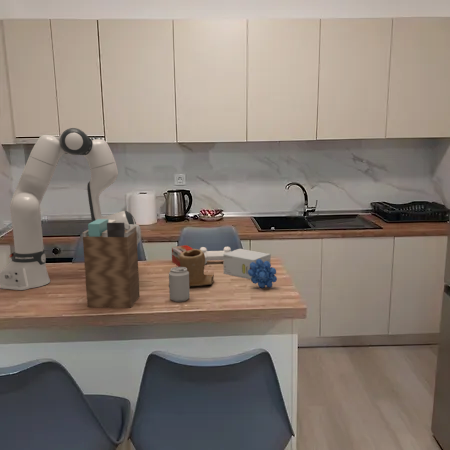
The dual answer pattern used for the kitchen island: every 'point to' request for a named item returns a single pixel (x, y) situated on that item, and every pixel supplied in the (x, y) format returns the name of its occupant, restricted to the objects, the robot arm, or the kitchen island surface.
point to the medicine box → (178, 253)
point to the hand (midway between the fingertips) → (109, 224)
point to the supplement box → (242, 262)
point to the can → (179, 284)
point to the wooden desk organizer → (112, 267)
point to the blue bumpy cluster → (262, 273)
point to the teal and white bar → (98, 227)
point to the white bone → (214, 254)
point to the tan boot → (195, 267)
